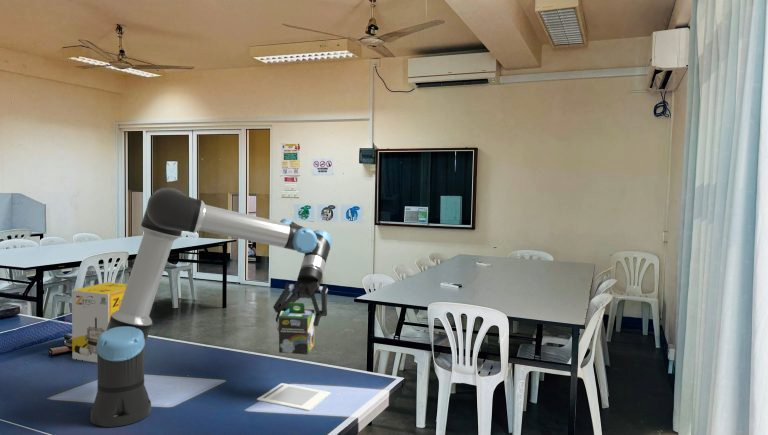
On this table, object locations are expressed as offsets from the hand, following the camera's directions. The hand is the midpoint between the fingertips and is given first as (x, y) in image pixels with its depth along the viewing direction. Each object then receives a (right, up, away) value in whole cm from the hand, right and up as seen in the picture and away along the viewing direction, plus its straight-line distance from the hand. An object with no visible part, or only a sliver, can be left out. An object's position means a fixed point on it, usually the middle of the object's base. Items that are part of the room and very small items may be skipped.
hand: (293, 333), depth 160 cm
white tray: (0, -20, +4) cm, 21 cm away
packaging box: (-75, -16, +37) cm, 85 cm away
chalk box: (0, -6, +4) cm, 7 cm away
